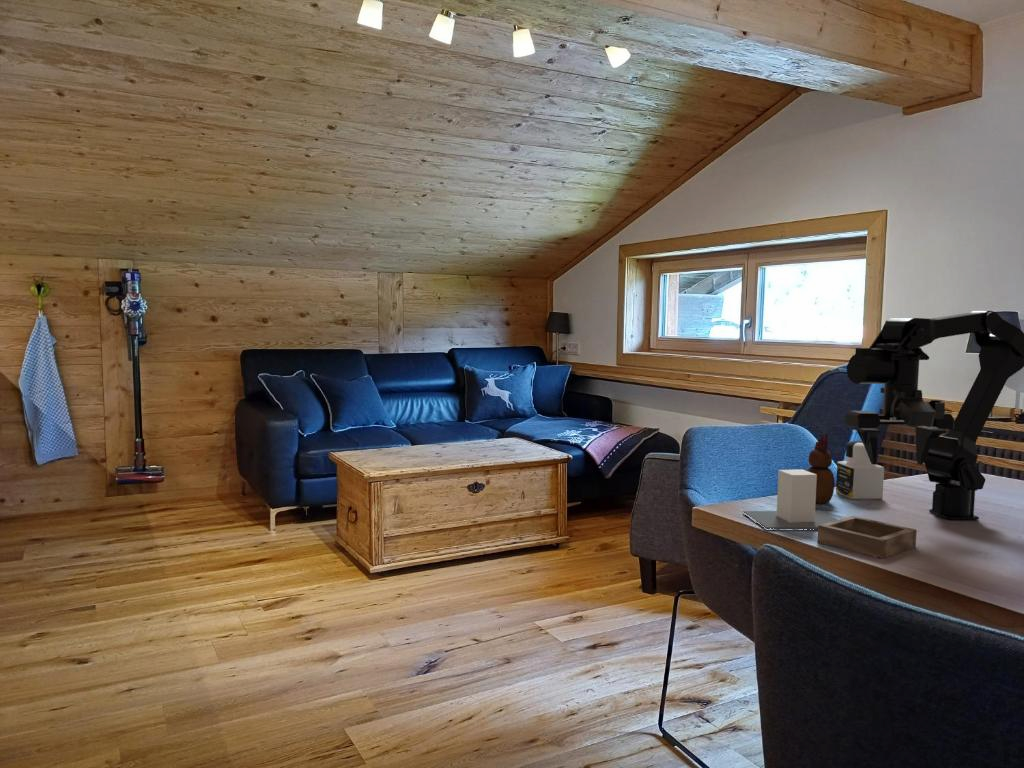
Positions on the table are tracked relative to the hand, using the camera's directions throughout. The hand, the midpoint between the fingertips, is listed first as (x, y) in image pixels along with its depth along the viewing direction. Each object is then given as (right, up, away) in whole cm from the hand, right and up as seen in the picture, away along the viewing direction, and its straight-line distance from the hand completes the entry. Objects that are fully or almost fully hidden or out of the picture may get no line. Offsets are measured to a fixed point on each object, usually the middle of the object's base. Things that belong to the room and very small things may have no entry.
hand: (896, 464), depth 149 cm
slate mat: (-20, -11, -1) cm, 23 cm away
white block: (-20, -10, -1) cm, 23 cm away
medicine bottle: (+3, -10, +22) cm, 24 cm away
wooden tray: (-13, -12, -16) cm, 24 cm away
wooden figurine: (-9, -10, +15) cm, 20 cm away
